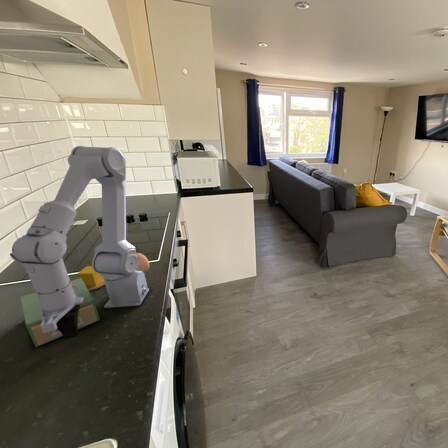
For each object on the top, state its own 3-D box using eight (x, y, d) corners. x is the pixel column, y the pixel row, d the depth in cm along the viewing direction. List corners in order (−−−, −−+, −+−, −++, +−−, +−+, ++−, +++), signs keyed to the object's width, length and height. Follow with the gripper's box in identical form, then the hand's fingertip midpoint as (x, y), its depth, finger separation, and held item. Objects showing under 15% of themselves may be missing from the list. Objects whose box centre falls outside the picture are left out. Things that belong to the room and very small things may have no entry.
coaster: (115, 274, 90) (115, 273, 90) (101, 290, 82) (101, 289, 82) (86, 276, 89) (86, 275, 89) (69, 292, 81) (69, 291, 81)
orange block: (96, 285, 83) (92, 273, 82) (81, 285, 83) (77, 273, 82) (105, 277, 88) (101, 265, 86) (91, 277, 87) (87, 265, 86)
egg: (152, 268, 95) (148, 247, 92) (149, 279, 88) (144, 257, 85) (129, 271, 92) (123, 250, 89) (124, 283, 86) (118, 260, 83)
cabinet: (100, 319, 70) (93, 299, 68) (35, 347, 61) (25, 325, 59) (86, 296, 79) (80, 277, 77) (29, 317, 70) (20, 297, 68)
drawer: (102, 328, 66) (97, 313, 64) (41, 356, 58) (33, 339, 56) (85, 298, 77) (80, 284, 75) (31, 317, 69) (25, 302, 67)
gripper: (64, 301, 52) (84, 353, 57) (85, 267, 64) (100, 312, 69) (17, 310, 49) (42, 364, 54) (49, 273, 62) (66, 319, 66)
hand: (72, 335), depth 61 cm, fingers closed, pressing on drawer
